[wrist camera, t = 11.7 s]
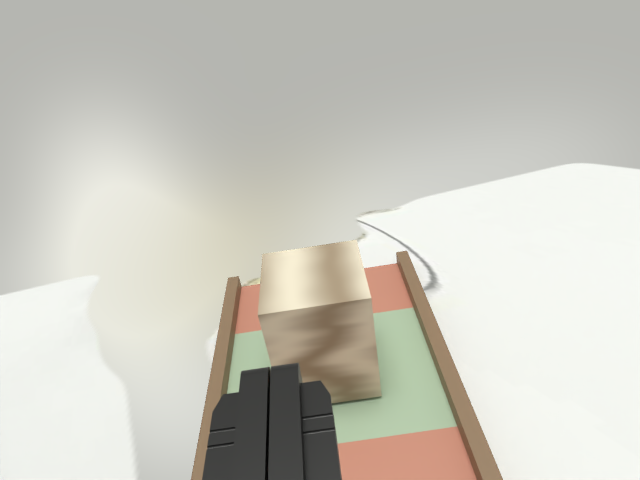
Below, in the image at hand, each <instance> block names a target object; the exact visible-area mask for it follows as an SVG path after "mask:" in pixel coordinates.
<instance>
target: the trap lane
mask: <svg viewBox="0 0 640 480" xmlns="http://www.w3.org/2000/svg"><path fill="white" fill-rule="evenodd" d="M396 255H397V263H396V264H390V265H383V266H377V267H370V268H364V271H365V275H366V279H367V283H368V287H369V291H370V295H371V299H372V309H373V318H374V328H375V337H376V346H377V356H378V365H379V375H380V384H381V394H382V396H380V397H373V398H366V399H359V400H352V401H345V402H339V403H332V408H333V415H334V422H335V428H336V435H337V443H338V451H339V459H340V467H341V475H342V480H503V478H502V476H501V474H500V471H499V469H498V467H497V464H496V462H495V459H494V457H493V455H492V452H491V450H490V448H489V445H488V443H487V440H486V438H485V436H484V433H483V431H482V428H481V426H480V424H479V421H478V419H477V417H476V414H475V412H474V409H473V407H472V405H471V402H470V400H469V398H468V395H467V393H466V390H465V388H464V386H463V383H462V381H461V378H460V376H459V374H458V371H457V369H456V367H455V364H454V362H453V359H452V357H451V355H450V352H449V350H448V348H447V345H446V343H445V340H444V338H443V336H442V333H441V331H440V328H439V326H438V324H437V321H436V319H435V317H434V314H433V312H432V309H431V307H430V305H429V302H428V300H427V298H426V295H425V293H424V290H423V288H422V286H421V283H420V281H419V278H418V276H417V274H416V271H415V269H414V267H413V264H412V262H411V259H410V257H409V255H408V252H407V251H402V252H396ZM259 292H260V284H258V285H251V286H244V287H241V283H240V280H239V277H238V276H237V277H231V278H228V282H227V287H226V292H225V298H224V304H223V308H222V314H221V319H220V325H219V330H218V336H217V341H216V346H215V352H214V357H213V363H212V368H211V374H210V380H209V385H208V390H207V395H206V401H205V407H204V412H203V417H202V423H201V428H200V433H199V439H198V444H197V450H196V455H195V461H194V466H193V472H192V477H191V480H202V476H203V470H204V463H205V457H206V450H207V444H208V437H209V434H210V424H211V418H212V412H213V410H214V408H215V407H216V405H217V403H218V402H219V400H220V398H221V397H222V395H223V394H229V393H236V392H239V385H240V375H241V371H243V370H250V369H257V368H264V367H270V369H271V363H270V359H269V355H268V352H267V348H266V344H265V341H264V337H263V333H262V329H261V326H260V322H259V318H258V305H259Z"/></svg>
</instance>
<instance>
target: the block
mask: <svg viewBox="0 0 640 480" xmlns="http://www.w3.org/2000/svg"><path fill="white" fill-rule="evenodd" d="M258 318H259V322H260V326H261V329H262V333H263V337H264V341H265V344H266V348H267V352H268V355H269V359H270V363H271V366H278V365H285V364H292V363H299V366H300V371H301V376H302V382H303V383H305V382H312V381H319V380H321V382H322V383H323V385H324V386H325V387H326V389H327V390H328V392H329V393H330V395H331V401H332V403H339V402H345V401H352V400H359V399H366V398H373V397H380V396H382V394H381V384H380V375H379V365H378V356H377V346H376V337H375V328H374V318H373V309H372V299H371V295H370V291H369V287H368V283H367V279H366V275H365V271H364V267H363V263H362V259H361V255H360V251H359V247H358V244H357V240H352V241H345V242H339V243H332V244H326V245H319V246H312V247H306V248H300V249H293V250H286V251H280V252H273V253H266V254H263V255H262V268H261V280H260V292H259V305H258Z"/></svg>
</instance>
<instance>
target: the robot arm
mask: <svg viewBox="0 0 640 480" xmlns="http://www.w3.org/2000/svg"><path fill="white" fill-rule="evenodd" d="M202 480H342V475H341V467H340V459H339V451H338V443H337V435H336V428H335V422H334V415H333V408H332V401H331V395H330V393H329V392H328V390H327V389H326V387H325V386H324V385H323V383H322V382H321V380H319V381H312V382H305V383H303V382H302V376H301V371H300V366H299V363H292V364H285V365H278V366H271V369H270V367H264V368H257V369H250V370H243V371H241V375H240V385H239V392H236V393H229V394H223V395H222V397H221V398H220V400H219V402H218V403H217V405H216V407H215V408H214V410H213V412H212V418H211V424H210V434H209V437H208V444H207V450H206V457H205V463H204V470H203V476H202Z"/></svg>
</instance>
